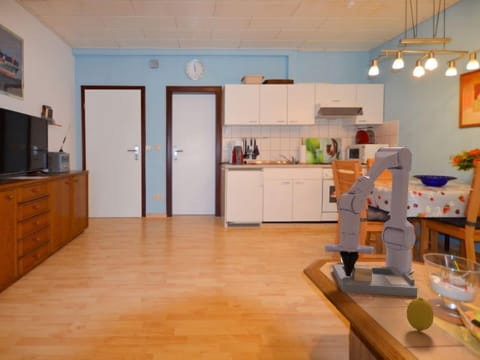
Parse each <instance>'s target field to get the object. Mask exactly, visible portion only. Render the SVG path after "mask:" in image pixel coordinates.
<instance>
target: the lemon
mask: <svg viewBox="0 0 480 360" xmlns="http://www.w3.org/2000/svg"><path fill="white" fill-rule="evenodd" d="M406 318H407V321H408V324H409V325H410V326H411V327H412V328H414V329H415V330H416V331H417V332H420V333H421V332H422V331H426V330H428V329H430V328H431V327H432V325H433V323H434V309H433V307H432V304H431V303H430V302H429V301H427V300H426V299H424V298H423V297H421V296H420V297H418V298H417V297H416V298H415V299H412V300H411V301H410V302H409V303H408V305H407V309H406Z"/></svg>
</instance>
